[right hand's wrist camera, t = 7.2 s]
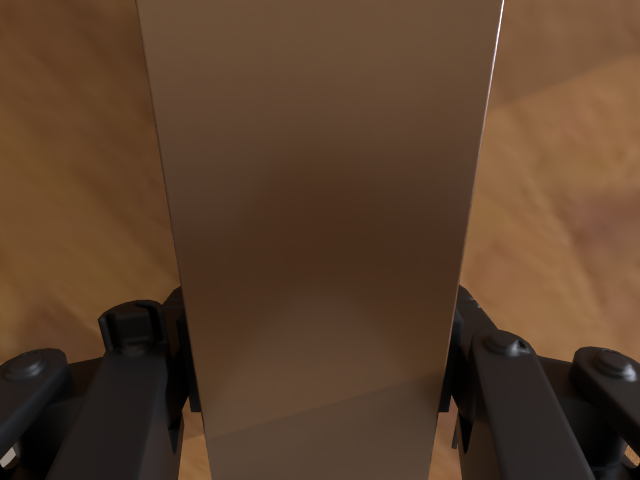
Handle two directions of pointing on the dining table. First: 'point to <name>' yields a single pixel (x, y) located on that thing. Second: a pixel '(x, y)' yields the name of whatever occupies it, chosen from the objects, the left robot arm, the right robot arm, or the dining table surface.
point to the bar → (319, 219)
